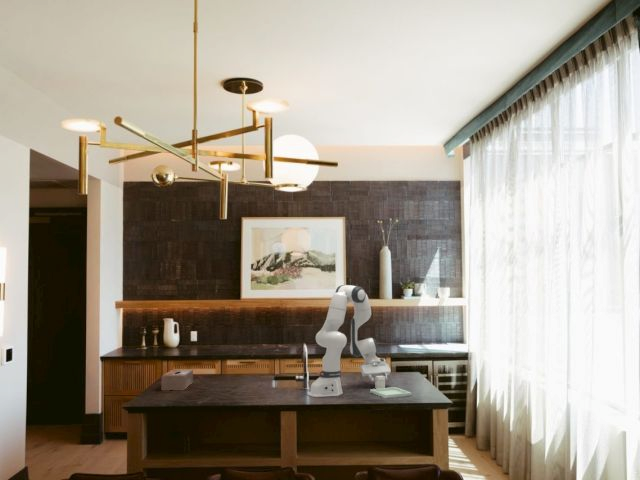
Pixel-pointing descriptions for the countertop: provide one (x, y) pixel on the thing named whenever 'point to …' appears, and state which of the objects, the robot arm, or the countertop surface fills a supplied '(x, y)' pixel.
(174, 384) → the tissue box cover
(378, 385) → the caddy
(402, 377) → the countertop surface
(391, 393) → the tray
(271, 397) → the countertop surface
